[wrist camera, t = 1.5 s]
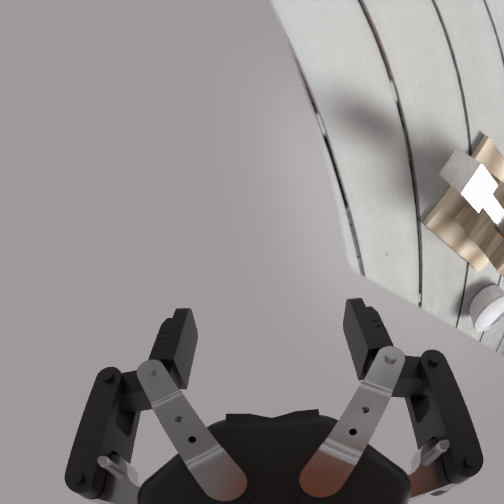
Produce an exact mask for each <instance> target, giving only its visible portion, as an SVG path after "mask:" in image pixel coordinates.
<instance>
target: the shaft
mask: <svg viewBox="0 0 504 504" xmlns="http://www.w3.org/2000/svg"><path fill="white" fill-rule="evenodd" d="M439 175H440V176H441V177H442V178H443V179H444V180H445V181H446V182H447V183H448V184H449V185H450V186H451V187H452V188H453V189H454V190H455V191H456V192H457V193H458V194H459V195H460V196H461V197H463V198H464V199H465V200H466V201H467V202H468V203H469V204H470V205H471V206H472V207H473V208H474V209H475V210H476V211H477V212H478V213H479V211H480V210H481V209H483V210H484V212H485V213H486V214H487V215H488V217H489V218H490V219H491V220H492V222H493V223H494V224H495V226H496V227H497V228H498V230H499V231H500V232H501V234H502V235H503V237H504V211H503V209H502V208H501V206H500V205H499V204H498V202H497V201H496V199H495V198H494V197H493V195H492V193H493V192H494V190H495V189H496V187H497V186H498V185H497V184H496V182H495V181H494V180H493V178H492V177H491V175H490V174H489V173H488V171H487V170H486V169H485V167H484V166H483V165H482V164H481V163H480V162H478V161H477V160H475V159H474V158H472V157H470V156H469V155H467V154H466V153H464V152H462V151H461V150H459V149H457V148H456V149H455V151H454V152H453V154H452V155H451V157H450V158H449V160H448V161H447V163H446V164H445V166H444V167H443V169H442V170H441V171H440V173H439Z"/></svg>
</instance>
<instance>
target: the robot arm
mask: <svg viewBox="0 0 504 504" xmlns="http://www.w3.org/2000/svg"><path fill="white" fill-rule="evenodd" d="M343 329H344V334H345V337H346V340H347V343H348V346H349V350H350V353H351V356H352V360H353V363H354V366H355V369H356V373H357V377H358V380H364V381H363V382H361V383H360V385H359V387H358V389H357V391H356V392H355V394H354V396H353V397H352V399H351V401H350V403H349V404H348V406H347V408H346V409H345V411H344V413H343V414H342V416H341V417H340V419H339V420H336V419H334V418H331V417H328V416H323V415H319V411H318V409H315V410H305V411H295V412H292V413H289V414H285V415H282V416H278V417H274V418H269V417H263V416H257V415H253V414H226V420H222V421H219V422H216V423H214V424H212V425H210V426H208V427H206V426H205V425H204V423H203V422H202V421H201V419H200V418H199V416H198V415H197V414H196V412H195V411H194V410H193V408H192V407H191V406H190V404H189V402H188V401H187V399H186V398H185V396H184V395H183V393H182V392H181V391H179V390H180V389H187V386H188V381H189V376H190V372H191V367H192V362H193V358H194V353H195V348H196V344H197V339H198V333H197V328H196V324H195V321H194V317H193V313H192V310H191V309H190V308H177V309H176V310H175V313H174V316H173V318H167V319H166V320H165V321H164V322H163V323H162V325H161V327H160V329H159V333H158V335H157V339H156V340H155V343H154V346H153V348H152V351H151V354H150V356H149V359H148V360H147V361H145V362H143V363H142V364H141V365H140V366H139V367H138V369H137V370H136V371H131V372H126V373H121V372H120V371H119V370H118V369H117V368H115V367H107V368H105V369H103V370H101V371H100V372H99V373H98V375H97V377H96V380H95V382H94V385H93V388H92V390H91V393H90V396H89V398H88V401H87V404H86V407H85V410H84V412H83V415H82V419H81V421H80V425H79V427H78V431H77V434H76V437H75V440H74V444H73V447H72V450H71V454H70V457H69V460H68V464H67V468H66V472H65V482H66V484H67V486H68V487H69V489H71V490H72V491H74V492H76V493H78V494H80V495H81V496H82V497H84V498H86V499H88V500H90V501H92V502H94V503H96V504H408V502H409V501H410V500H413V499H416V498H419V497H422V496H425V495H428V494H431V495H434V496H438V495H441V494H443V493H445V492H447V491H449V490H451V489H452V488H454V487H456V486H458V485H459V484H461V483H463V482H464V481H466V480H467V479H469V478H470V477H472V476H474V475H475V474H477V473H478V472H479V471H480V469H481V467H482V465H483V454H482V451H481V448H480V444H479V441H478V439H477V435H476V432H475V429H474V426H473V423H472V420H471V418H470V415H469V412H468V409H467V407H466V404H465V402H464V399H463V397H462V395H461V392H460V389H459V387H458V385H457V382H456V380H455V378H454V376H453V373H452V371H451V369H450V367H449V364H448V362H447V360H446V358H445V356H444V355H443V354H442V353H441V352H439V351H437V350H427V351H425V352H424V353H423V354H422V356H421V357H413V356H406V355H404V353H403V352H402V351H401V350H400V349H398V348H396V347H394V346H393V343H392V341H391V339H390V337H389V335H388V332H387V330H386V328H385V327H384V324H383V322H382V321H381V318H380V316H379V314H378V312H377V311H376V310H375V309H374V308H372V307H371V306H370V307H366V306H365V304H364V302H363V300H362V298H354V299H347V301H346V307H345V314H344V321H343ZM391 397H405V400H406V404H407V407H408V411H409V414H410V418H411V422H412V426H413V430H414V433H415V437H416V442H417V446H418V451H417V452H416V453H415V454H414V456H413V458H412V460H411V471H410V473H409V475H407V473H406V472H405V471H404V470H403V469H402V468H400V467H399V466H397V465H396V464H395V463H393V462H392V461H390V460H389V459H388V458H386V457H385V456H384V455H382V454H381V453H380V452H378V451H377V450H376V449H375V448H373V447H372V446H370V445H369V444H368V442H369V440H370V439H371V437H372V435H373V433H374V431H375V429H376V427H377V425H378V423H379V421H380V419H381V417H382V415H383V413H384V411H385V409H386V407H387V404H388V402H389V400H390V398H391ZM149 409H153V410H154V412H155V414H156V416H157V418H158V419H159V421H160V423H161V425H162V427H163V428H164V430H165V432H166V433H167V435H168V437H169V438H170V440H171V442H172V443H173V445H174V447H175V448H176V450H177V451H178V454H177V455H175V456H174V457H173V458H172V459H171V460H170V461H168V462H167V463H166V464H165V465H164V466H163V467H161V468H160V469H159V470H158V471H157V472H155V473H154V474H153V475H152V476H151V477H149V478H148V479H147V480H146V481H145V482H144V483H143V484H142V485H141V487H140V485H139V483H138V475H137V471H136V470H135V468H134V467H132V465H130V462H131V457H132V452H133V446H134V441H135V437H136V431H137V427H138V422H139V418H140V413H141V411H143V410H149Z"/></svg>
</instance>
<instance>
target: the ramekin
mask: <svg viewBox="0 0 504 504" xmlns="http://www.w3.org/2000/svg"><path fill="white" fill-rule="evenodd" d="M469 312H470V316H471V319H472V322H473V327H474V329H475V330H476V331H484V330H487V329H489V328H491V327H492V326H494V325H495V324H496V323H498V322H499V321H500V320H501V319H502V318H503V317H504V291H503V290H502V289H501V288H500V287H499V286H497V285H490V286H487V287H485V288H484V289H482V290H481V291H480V292H479V293H478V294H477V295H476V296H475V297H474V299H473V300H472V302H471V304H470V309H469Z"/></svg>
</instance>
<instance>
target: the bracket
mask: <svg viewBox="0 0 504 504" xmlns="http://www.w3.org/2000/svg"><path fill="white" fill-rule="evenodd" d="M471 157H472V158H474V159H475V160H477V161H478V162H480V163H481V164H482V165H483V166H484V167H485V169H486V170H487V171H488V173H489V174H490V175H491V177H492V178H493V180H494V181H495V182H496V184H497V185H498V186H497V187H496V189H495V190H494V192H493V193H492V195H493V197H494V198H495V199H496V201H497V202H498V204H499V205H500V206H501V208H502V209H503V211H504V158H503V156H502V155H501V153H500V152H499V150H498V149H497V147H496V146H495V145H494V143H493V142H492V140H491V139H490V138H489V137H488V136H486V135H484V136H483V138H482V139H481V141H480V143H479V144H478V146H477V147H476V149H475V150H474V152H473V154H472V155H471ZM423 223H424V224H425V225H426V226H427V227H428V228H429V229H431V230H432V231H433V232H434V233H435V234H437V235H438V236H439V237H440V238H441V239H443V240H444V241H445V242H446V243H447V244H448V245H450V246H451V247H452V248H453V249H454V250H455V251H456V252H458V253H459V254H460V255H461V256H462V257H463V258H464V259H465V260H466V261H467V262H469V263H470V264H471V265H472V266H473V267H474V268H475V269H476V270H477V271H478V272H480V271H481V270H482V269H483V268H484V266H485V265H486V264H487V263H488V262H489V261H490V262H491V263H492V264H493V266H494V267H495V268H496V270H497V271H498V272H499V273H500V275H501V276H502V275H504V238H503V237H502V236H501V235H500V234H499V232H500V231H499V230H498V228H497V227H496V226H495V224H494V223H493V222H492V220H491V219H490V218H489V217H488V215H487V214H486V213H485V212H484V210H483V209H481V210H480V211H479V213H478V212H477V211H476V210H475V209H474V208H473V207H472V206H471V205H470V204H469V203H468V202H467V201H466V200H465V199H464V198H463V197H461V196H460V195H459V194H458V193H457V192H456V191H455V190H454V189H453V188H452V187H451V186H450V187H449V188H448V190H447V191H446V192H445V194H444V195H443V196H442V198H441V199H440V200H439V202H438V203H437V204H436V206H435V207H434V208H433V209H432V211H431V212H430V213H429V215H428V216H427V217H426V218H425V220H424V221H423Z"/></svg>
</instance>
